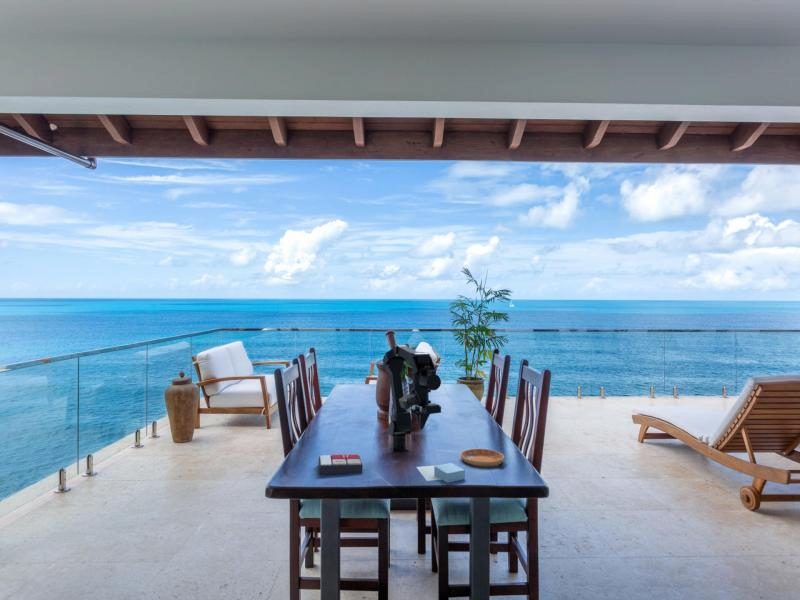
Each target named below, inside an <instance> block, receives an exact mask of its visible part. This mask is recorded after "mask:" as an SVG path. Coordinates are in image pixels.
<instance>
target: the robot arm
mask: <svg viewBox="0 0 800 600" xmlns="http://www.w3.org/2000/svg"><path fill="white" fill-rule="evenodd" d="M406 361H408V365H409V366H410V367H411V368H412V370H411V371H410V373H411V374H412V385H413V386H412V388H411V389H410V393H409V394H406V395H404V388H403V382H402V381H403V379H402V372H403V370H404V365H405V362H406ZM382 363H383V366H384V369H385V372H386V374H388V375H389V383H390V389H391V397H392V406H393V411H392V413H391V416H390V423H389V424H388V427H387V429H386V430H387V434H388V435H389V436H391V437H392V441H391V442H392V445H390V449H391V451H392V452H394V453H395V452H408V451H409V448H408V446H407V435H412V431H413V420H412V413H413V414H414V415H415V418H416V422H417V424H418V427H419V429H420V430H423V429H424V428H425V425H426V423H427V421H428V419H429V417H430V415H434V414H440V413H442V406H441V405H440V404H437V403H435V402H434V403H432V400H430V396H429V393H431V392H432V391H437V390H439V388H440V386H441V384H442V379H441V377H440V376H439V375H438V374H437V370H436V366H435V363H434V362H433V359H432V356H431V354H430V353H429V352H425V351H417V350H414V349H412V348H410V347H408V346H407V345H406V344H395V345H393V347H392V348H391V349H389V350H387V352H385V353H384V356H383V358H382ZM408 410H409V411H408ZM410 411H411V412H412V413H411V412H410Z"/></svg>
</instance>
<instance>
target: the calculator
mask: <svg viewBox="0 0 800 600" xmlns="http://www.w3.org/2000/svg"><path fill="white" fill-rule="evenodd" d="M361 459H362V458H361V457H360V455H359V454H331V455H329V454H328V455H324V454H323V455H319V456H318V476H319V475H324V476H331V475H347V474H348V475H350V474H361V472H362V473H363V463H362V460H361Z"/></svg>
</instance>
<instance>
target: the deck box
mask: <svg viewBox="0 0 800 600" xmlns="http://www.w3.org/2000/svg"><path fill="white" fill-rule="evenodd" d="M433 466H434V475H435V476H437V477H439V478H440V479H442V480H441V481H444V482H445V483H452V482H457V481H461V480H462V481H463V480H465V479H466V477H465V476H466V473H465V471H466V470H465V469H463V468H462V467H460V466H458V465H456V464H454V463H452V462H449V463H443V464H437V466H435V465H433Z"/></svg>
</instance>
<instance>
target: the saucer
mask: <svg viewBox="0 0 800 600" xmlns="http://www.w3.org/2000/svg"><path fill="white" fill-rule="evenodd" d="M460 457H461V459H462V461H463V462H464V463H466V464H467V465H471V466H475V467H482V468H483V467H484V468H487V467H488V468H489V467H494V468H495V467H498V466H499V465H500V464H502V463H503V461H504V459H505V456H504V454H503V453H501V452H499V451H496V450H492V449H487V448H471V449H466V450H464V451H462V452H461V453H460ZM470 457H471V458H470Z"/></svg>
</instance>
